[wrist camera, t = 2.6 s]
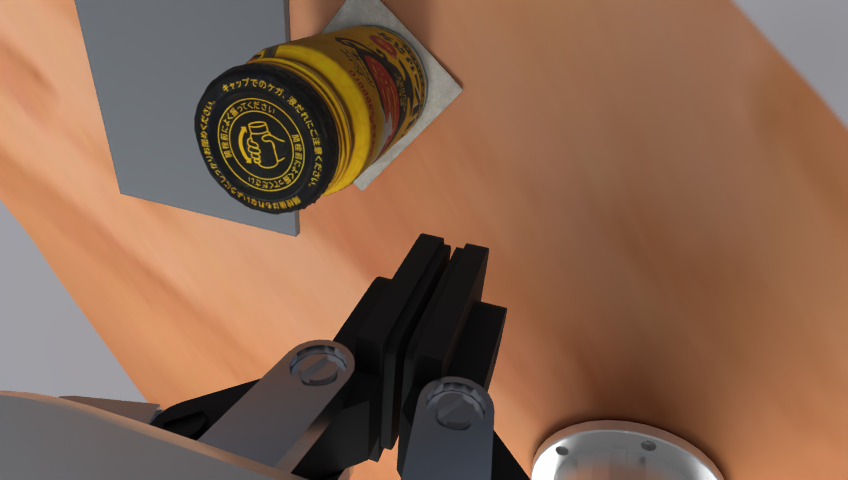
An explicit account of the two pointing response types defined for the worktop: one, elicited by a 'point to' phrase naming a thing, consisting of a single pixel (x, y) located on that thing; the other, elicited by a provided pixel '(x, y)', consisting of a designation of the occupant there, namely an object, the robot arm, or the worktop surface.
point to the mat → (174, 91)
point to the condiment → (320, 110)
